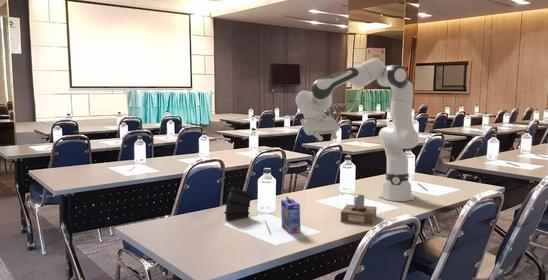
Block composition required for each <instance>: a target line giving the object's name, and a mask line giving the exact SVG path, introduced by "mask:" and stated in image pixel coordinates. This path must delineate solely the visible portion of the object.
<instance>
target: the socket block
mask: <svg viewBox="0 0 548 280" xmlns="http://www.w3.org/2000/svg"><path fill="white" fill-rule="evenodd" d="M376 218H377V206H368V205H364V212H361V211H354V204H346V205H345V206H344V207H343V208H342V210H341V211H340V222H341V223H350V224H351V223H352V224H363V225H369V226H370V225H373V224H374V222H375V220H376Z"/></svg>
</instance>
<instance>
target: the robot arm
mask: <svg viewBox="0 0 548 280" xmlns="http://www.w3.org/2000/svg"><path fill="white" fill-rule="evenodd" d="M408 74H409V73H408V70H407V68H405V67H404V66H403V65H400V64H395V65H394V64H393V65H392V64H390V65H384V63H383V61H382V59H379V58H376V57H374V58H370V59H368V60H366V61H364V62H361V63H360V64H358V65H356V66H353V67H347V68H344V69H343V70H341V71H338V72H336V73H333V74H332V75H330V76H326V77H322V78H318V79H316V80H315V81H313V83H312V84H311V91H308V90H306V89H305V90H301V91H300V92H298V93H297V95H296V97H295V104H296V106H297V108H298V110H299V111H300V113H301V114H302V115H303V118H300V123H301V127H302V129H303V131H304V133H305V134H306V135H307V136H313V137H315V138H316V139H317V140H318V142H322V141H323V140H324V138H323V135H327V134H331V135H332V136H331V138H332V139H333V140H337V139H338V135H337V132H338V131H339V130H340V126H339V124H338V122H337V121H336V120H335V118H333V117H332V116H333V115H332V114H331V112H327V111H326V110H328V109H330V108H331V106H332V105H333V92H334V90H335V89H336V88H337V87H339V86H342V85H344V84H346V83H349V84H351V86H353V87H354V88H358V89H359V88H360V89H361V88H364V87H366V86H368V85H369V84H372V82H375V83H376V84H377V85H378V86H379V87H383V88H384V87H385V88H390V90H391V100H390V109H389V116H390V117H391V118H392V120H393V123H394V126H393V125H391V126H390V125H389V126H385V127H384V126H383V127H382V128H381V129H380V130H379V132H378V140H379V142H380V143H381V144H382V146H383V148H384V151H385V156H386V172H385V180H384V181H383V182H382V189H381V190H382V191H381V193H380V194H379V195H378V198H381V199H384V200H387V201H392V202H407V201H414V200H415V199H416V198H415V196H414V195H413V193H412V184H411V183H410V181H409V177H410V176H409V175H410V174H409V159H408V157H407V155H406V153H405V151H404V150H408V149H413V148H415V147H417V146H418V144H419V140H420V136H419V133H418V132H417V131H416V129H415V127H414V124H413V117H412V115H413V100H414V86H413V83H412V82H411V81H409V80H410V79H409V75H408Z"/></svg>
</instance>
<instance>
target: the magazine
mask: <svg viewBox="0 0 548 280" xmlns="http://www.w3.org/2000/svg"><path fill="white" fill-rule="evenodd" d="M228 190H229V193H228V195H227V198H226V200H225V202H226V205H225V211H224V214H225V220H226V221H229V222H230V221H234V220H241V219H245V218H249V215H250V214H251V213H250V212H249V210H250V207H251V205H250V204H251V201H252V200H253V199H254V197H253V196H254V195H253V193H250V192H247V191H244V190H242V189H239V188H237V187H234V186H231V188H229V189H228Z"/></svg>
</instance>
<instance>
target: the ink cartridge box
mask: <svg viewBox="0 0 548 280" xmlns="http://www.w3.org/2000/svg"><path fill="white" fill-rule="evenodd" d="M280 203H281V204H280V205H281V212H280V213H281V228H283V230H285V231H286V232H287V233H288V234H297V233H301V206H300V203H298V202H297V201H295V200H294V199H292V198H289V197H288V196H285V199H281V200H280Z"/></svg>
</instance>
